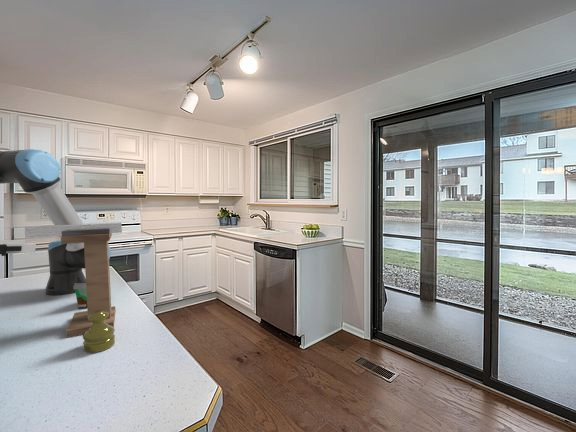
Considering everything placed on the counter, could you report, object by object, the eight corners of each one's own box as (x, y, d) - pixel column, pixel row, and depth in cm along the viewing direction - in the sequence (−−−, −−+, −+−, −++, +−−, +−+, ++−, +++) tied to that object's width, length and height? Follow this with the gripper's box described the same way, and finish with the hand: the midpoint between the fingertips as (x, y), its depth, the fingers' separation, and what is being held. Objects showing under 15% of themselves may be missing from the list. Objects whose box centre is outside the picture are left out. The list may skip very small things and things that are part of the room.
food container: (88, 311, 107) (87, 284, 106) (74, 310, 108) (73, 283, 107) (114, 299, 119) (113, 275, 118) (102, 298, 120) (100, 275, 119)
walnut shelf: (75, 318, 100) (69, 227, 98) (115, 311, 106) (111, 225, 104) (66, 337, 86) (60, 232, 84) (113, 328, 92) (108, 229, 90)
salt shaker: (87, 343, 83) (85, 308, 82) (117, 338, 86) (115, 304, 85) (80, 356, 76) (78, 318, 76) (113, 349, 79) (111, 314, 79)
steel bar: (28, 236, 86) (27, 226, 86) (121, 231, 98) (121, 222, 97) (25, 238, 83) (24, 227, 83) (121, 232, 95) (121, 223, 95)
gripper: (-79, 256, 84) (19, 253, 101) (-76, 268, 69) (39, 262, 86) (-76, 230, 85) (21, 231, 101) (-73, 236, 69) (41, 237, 86)
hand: (29, 245), depth 94 cm, fingers open, 13 cm apart
